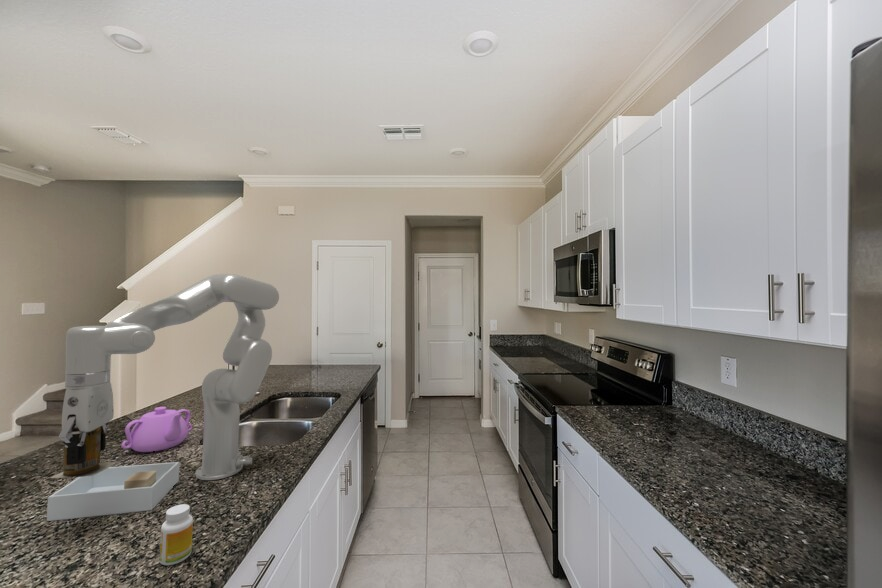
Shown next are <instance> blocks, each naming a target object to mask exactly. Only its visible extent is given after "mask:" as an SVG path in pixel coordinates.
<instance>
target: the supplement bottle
mask: <svg viewBox="0 0 882 588" xmlns="http://www.w3.org/2000/svg"><path fill="white" fill-rule="evenodd" d="M190 507H191V506H190V505H189V504H186V503H183V504H182V503H181V504H177V505H174V506H171V507H170V508H168V509H167V510H166V513H165V520H164V522H163V523H162V525H161V528H160V541H159V563H160V564H161V565H163V566H172V565H173V566H174V565H177V564H179V563H181V562H183V561H185V560H186V559H187V558H189V556H190V555H191V554H192V551H193V532H194V531H193V530H194V529H193V528H194V523H193V522H194V517H193V516H192V515H191V514H190V510H191V508H190Z"/></svg>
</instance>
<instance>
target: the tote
mask: <svg viewBox="0 0 882 588" xmlns="http://www.w3.org/2000/svg"><path fill="white" fill-rule="evenodd" d="M180 464H181V462H180V461H172V462H162V463H161V462H160V463H148V464H147V463H145V464H135V465H134V464H133V465H121V466H110V467H109V468H108V469H105V470H103V471H101V472H99V473H97V474H95V475H93V476H84V477H76V478H75V479H74V480H72V481H71V482H69V483H68V484H66V485H65V486H63V487H62V488H59V490H57V491H55V492H54V493H52V494H51V495H49V496H48V497H47V508H46V509H47V512H46V522H51V521H60V520H71V519H79V518H80V519H81V518H89V517H98V516H109V515H116V514H118V515H120V514H126V513H136V512H138V513H139V512H145V511H147V512H148V511H152V510H153V509H154V508H155V507H156V506H157V505H158V504H159V503H160V502H161V501H162V500H163V498H164V497H166V495H168V493H169V492H171V490H172V489H173V488H174V487H175V486H176V485H177V484H178V483H179V481H180ZM148 471H156V482H155V483H154V484H153V485H152V486H151V487H141V488H130V489H124V481H126V480H127V479H128V478H129V477H130V476H132V475H133V474H134V473H137V472H148ZM176 483H177V484H176ZM175 484H176V485H175ZM174 485H175V486H174ZM173 486H174V487H173Z"/></svg>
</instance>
